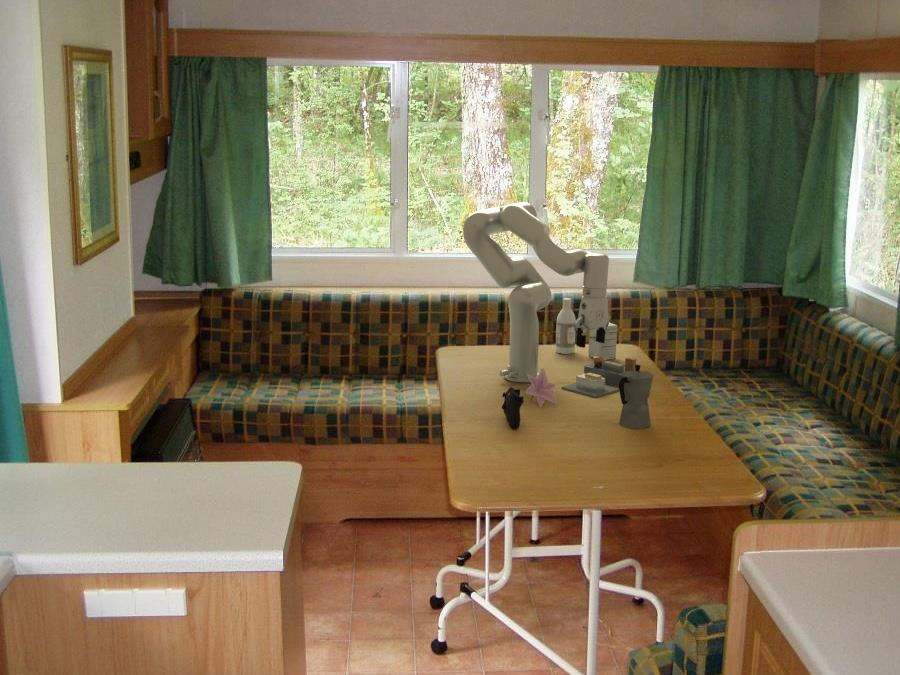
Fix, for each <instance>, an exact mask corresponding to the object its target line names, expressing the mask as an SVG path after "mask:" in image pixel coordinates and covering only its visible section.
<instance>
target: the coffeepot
mask: <svg viewBox="0 0 900 675" xmlns="http://www.w3.org/2000/svg"><path fill="white" fill-rule="evenodd" d="M641 366H642V365H640V364H636V365H635V369H636V370H635V371H626V372H623V373H622V374H621V380H620V382H619V387H618V389H619V395H620V396H619V397H620V400H621V404H622V408H621V413H620V417H619V421H618V424H619V425H620V426H622V427H623V428H627V429H631V430H632V429H634V430H643V429H647V428H650V426H651V417H650V407H649V403H648V402H649V401H648V399H649V398H650V394H651V388H652V385H653V380H654V374H653V373H652V371H647V370H641Z"/></svg>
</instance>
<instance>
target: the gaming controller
mask: <svg viewBox="0 0 900 675" xmlns="http://www.w3.org/2000/svg"><path fill="white" fill-rule="evenodd" d="M501 396H502V398H504V402H503V403H502V406H501V409H502V411H503V413H504V415H505V419H506V421H507V423H508V425H509V427H510V428H511V429H512V430H517V429H519V428H520V426H521V412H520V411H521V406H522V405H523V403H525V400H524V396H523V395H522V396H521V388H520V389H519V388H518V389H515V388H514V387H509V388H508V389H507V391H506V392H503V393H502V395H501Z"/></svg>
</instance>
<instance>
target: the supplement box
mask: <svg viewBox="0 0 900 675" xmlns="http://www.w3.org/2000/svg"><path fill="white" fill-rule="evenodd" d="M597 329H598V328H597ZM597 329H592V330H590V329H589V336H588V339H589V340H588V357H590V358H592V357H593V358H592V359H594V356H602V357H603V360H602V361H608V360H607V359H612V360H616V359H617V342H618V341H617V336H618V325H617V324H614V323H611V322H610V321H609V325H608V326H607V330H606V331H605V343H600V342H596V331H597ZM614 358H615V359H614ZM605 359H606V360H605Z"/></svg>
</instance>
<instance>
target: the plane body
mask: <svg viewBox="0 0 900 675" xmlns="http://www.w3.org/2000/svg"><path fill="white" fill-rule="evenodd" d="M592 359H593V363H590V364H587V365H584V366H583V368H584V369H583V374H587V373H593V374H597V375H601V376H602V378H605V384H607V385H611V386H615V387H618V388H619V382H620V380H621V374H622V373H623V372H626V371H635V370H636V369H635V365H637V359H636V358H632V357H625V360H624V361H625V362H624V363H625V364H621V363H619V362H618V363H617V362H613V361H611V360H603V357H602V356H594V358H592Z"/></svg>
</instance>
